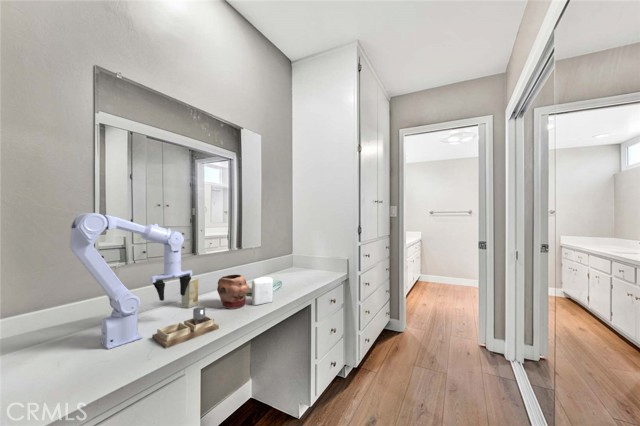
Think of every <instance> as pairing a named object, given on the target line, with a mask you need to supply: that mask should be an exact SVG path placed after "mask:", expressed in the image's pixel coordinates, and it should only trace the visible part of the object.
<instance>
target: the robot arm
mask: <svg viewBox="0 0 640 426" xmlns="http://www.w3.org/2000/svg"><path fill="white" fill-rule="evenodd" d="M114 229H115V230H121V231H124V232H129V233H130V232H131V233H134V234H139V235H140V236H141V238H142V239H143V240H146V241H149V242H153V243H157V244H162V245H163V273H162V274H158V275H152V276H150V281H149V282H150V283H152V284H153V286H154V288H155V290H156V292H157V295H158V298H159V301H164V300H165V287H166V282H164V281H168V280H172V279H179V286H180V287H179V289H180V290H179V293H180V296H182V295H183V296H184V295H185V292H186V288H187V286H188V284H189V282H190V280H191V278H192V276H193V270H191V269H188V270H182V245H183V243H184V241H185V238H184V236H183V234H182V233H181V232H180V231H174V230H171V228H169V227H168V228H166V227H161V226H159V224H158V223H149V224H146V225H142V224H139V223H136V222H133V221H130V220H127V219H124V218H121V217H118V216H114V215H108V214H101V213H97V212H90V213H89V212H86V213H81V214H79V215H77V216H76V217H74V219H73V221H72V223H71V225H70V239H69V248H70V250H71V252H72V253H73V254H74V255H75V256H76V258H77V259H78V260H79V261H80V262H81V264H82V265H83V266H84V268H85V269H86V270H87V271H88V273H89V274H90V275H91V276H92V277H93V279H94V280H95V281H96V282H97V284H98V285H99V286H100V288H102V290H103V291H104V292H105V294H106V296H107V297H108V299H109V300H108V301H109V306H110V307H111V308H112V309H113V310H112V311H111V313H110V315H109V316H107V317H104V318H102V320H101V334H100V335H101V336H100V337H101V338H100V343H101V344H102V345H103V346H104V347H105V348H106V349H108V350H109V349H112V348H116V347H119V346H121V345H125V344H128V343H131V342H134V341H137V340H141V339H142V338H143V335H141V334H140V333H138V332H139V331H138V326H139V325H138V324H139V322H138V321H139V308H140V307H141V305H142V304H141V298H140V297H139V296H137V295H136V294H133V293H132V292H131V291H130V290H129V289H128V288H127V287H126V286H125V285H124V284H123V283H122V282H121V280H120V279H119V278H118V276H117V275H116V274H115V272H114V271H113V270H112V268H111V267H110V266H109V264H108V263H107V262H106V260H105V259H104V258H103V257H102V255H101V254H100V253H99V251H98V250H97V249H96V248H95V246H94V245H95V243H96V241H97V239H98V237H99V236H100V235H101V234H102V233H103V232H104V231H105V230H107V231H108V230H109V231H110V230H114Z"/></svg>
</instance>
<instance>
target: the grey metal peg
mask: <svg viewBox="0 0 640 426" xmlns="http://www.w3.org/2000/svg"><path fill="white" fill-rule="evenodd" d="M192 311H193V312H192V313H193V314H192V318H193V325H198V324H201V323H203V322H205V316H206V307H205V306H197V307H194V308H193V309H192Z"/></svg>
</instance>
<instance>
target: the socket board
mask: <svg viewBox="0 0 640 426" xmlns="http://www.w3.org/2000/svg"><path fill="white" fill-rule="evenodd" d="M219 327H220V326H219V324H217V323H215V320H214V318H212V317H209V316H207V315H205V322H203V323H201V324H198V325H193V317H192V318H190V319H186V320H183V323H182V322H177V323H174V324H171V325H167V326H164V327H161V328H158V329H157V330H156V333H154V334H152V337H151V338H152V339H153V340H154V341H155V342H157V343H158V344H160V345H161V346H162V347H164V348H166V349H168V348H171V347H174V346H176V345H179V344H181V343H184V342H187V341H189V340H192V339H195V338H198V337H200V336H203V335H205V334H208V333H211V332H213V331H217V330H218V329H219Z"/></svg>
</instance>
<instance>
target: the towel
mask: <svg viewBox="0 0 640 426" xmlns="http://www.w3.org/2000/svg"><path fill="white" fill-rule="evenodd" d="M252 281H253V280H251V281H249V282H247V284H248V286H249V290H248V292H246V294H245V296H250V297H252ZM282 285H283V283H282V281H281V280H273V293H275V292H277V291H278V290H277V289H279V288H280V289H281V288H282ZM280 289H279V290H280ZM276 290H277V291H276ZM274 291H275V292H274Z"/></svg>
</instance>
